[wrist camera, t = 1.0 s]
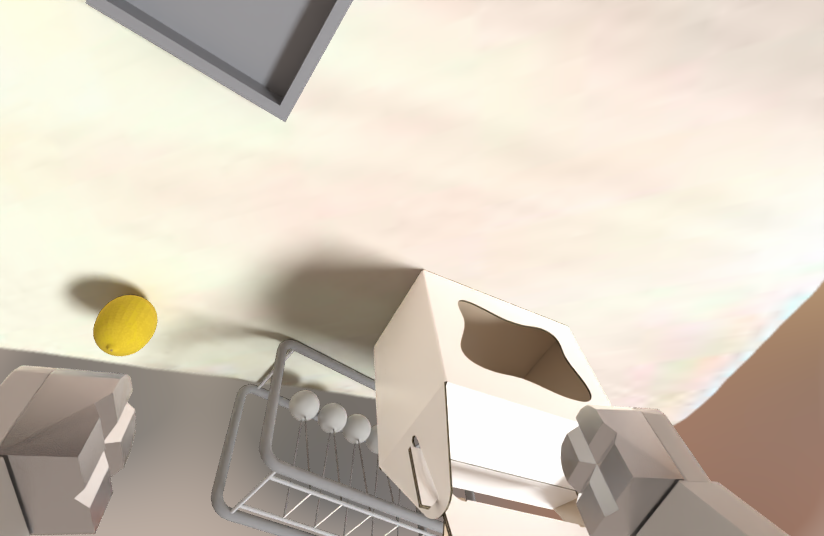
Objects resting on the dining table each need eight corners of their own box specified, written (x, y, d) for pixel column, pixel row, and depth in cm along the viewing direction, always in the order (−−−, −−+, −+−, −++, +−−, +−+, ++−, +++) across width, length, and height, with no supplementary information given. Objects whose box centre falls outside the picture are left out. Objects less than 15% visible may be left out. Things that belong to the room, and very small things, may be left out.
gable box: (371, 346, 62) (380, 587, 39) (420, 267, 56) (466, 497, 33) (513, 392, 70) (592, 617, 47) (570, 326, 64) (693, 547, 41)
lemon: (169, 321, 57) (145, 371, 51) (118, 319, 56) (86, 369, 50) (163, 282, 54) (136, 330, 48) (108, 279, 53) (73, 328, 47)
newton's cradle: (238, 382, 64) (203, 515, 49) (282, 332, 60) (259, 460, 45) (414, 459, 76) (428, 583, 62) (460, 422, 72) (487, 545, 58)
